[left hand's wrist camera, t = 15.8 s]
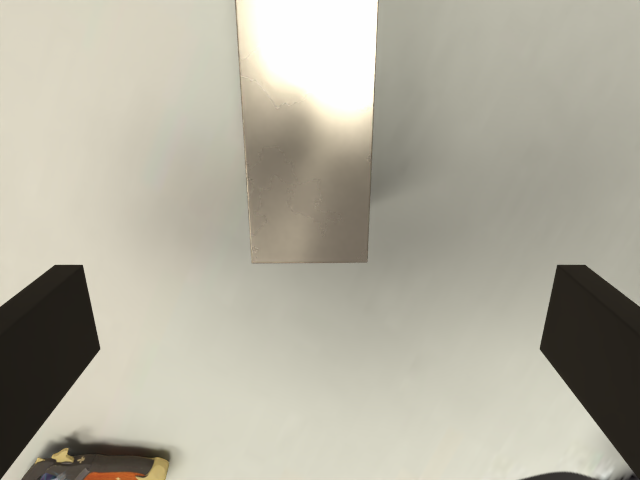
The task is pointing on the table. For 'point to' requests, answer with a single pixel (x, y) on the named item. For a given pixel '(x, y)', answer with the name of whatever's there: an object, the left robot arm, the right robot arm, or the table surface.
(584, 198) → the table surface
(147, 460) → the toy gun
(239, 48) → the box
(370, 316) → the table surface
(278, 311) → the table surface
